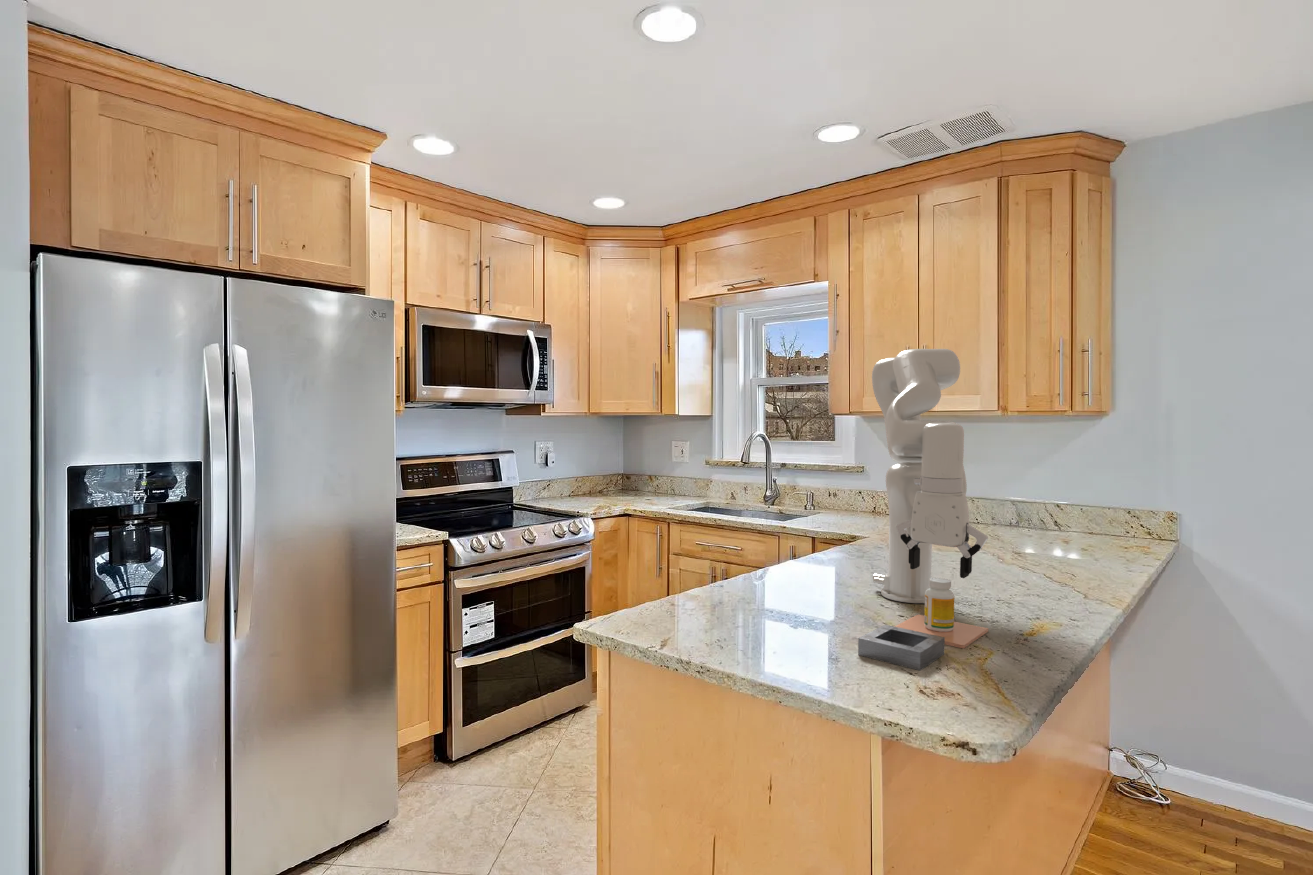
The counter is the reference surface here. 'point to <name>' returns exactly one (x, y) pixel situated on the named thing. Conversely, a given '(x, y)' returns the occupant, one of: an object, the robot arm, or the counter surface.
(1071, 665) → the counter surface
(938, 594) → the supplement bottle
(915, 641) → the collar
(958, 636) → the tile
